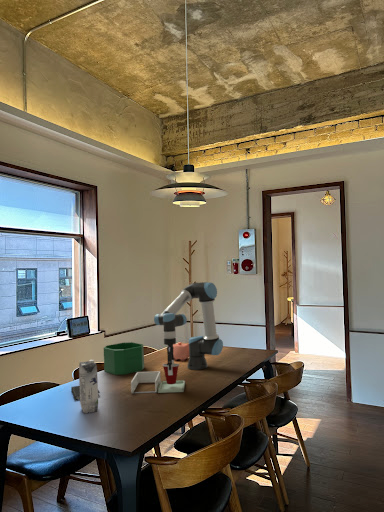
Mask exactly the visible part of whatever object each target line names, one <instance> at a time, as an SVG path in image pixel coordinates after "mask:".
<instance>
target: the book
mask: <svg viewBox="0 0 384 512" xmlns="http://www.w3.org/2000/svg"><path fill="white" fill-rule="evenodd" d="M71 393H73V394H72V396H73V399H74V401H77V400H76V399H78V400H80V385H75V386H71ZM98 394H101V392H100V390H99V389H98Z"/></svg>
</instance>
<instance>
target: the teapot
mask: <svg viewBox="0 0 384 512" xmlns="http://www.w3.org/2000/svg"><path fill="white" fill-rule="evenodd" d="M173 347H174V349H173V355H174V358H175V360H174V362H177V361H178V360H180V361H181V362H185V360H187V359H189V343H182V342H181V341H179V342H177V343H176V344H173Z"/></svg>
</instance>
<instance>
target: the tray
mask: <svg viewBox="0 0 384 512" xmlns="http://www.w3.org/2000/svg"><path fill="white" fill-rule="evenodd" d="M185 386H186V381H185V380H176V383H175V384H167V382H166V380H165V381H164V380H163V381H161V382H160V385H159V388H158V390H157V393H158V394H159V393H160V394H162V393H163V394H165V393H184V392H185V391H184V390H185Z"/></svg>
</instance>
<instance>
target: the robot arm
mask: <svg viewBox="0 0 384 512" xmlns="http://www.w3.org/2000/svg"><path fill="white" fill-rule="evenodd" d="M217 294H218V289H217V287H216V285H215V284H214V283H213V282H208V281H206V282H192V283H190V284H188V285H186V286H185V287H184V288H182V290H180V292H179V295H178V296H177V297H176V298H175V299H174V300H173V301H172V302H171V303H170V304H169V305H168V306H167V307H166V308H165V309H164V310H163V311H162V312H161V313H157V314H155V315H154V318H153V321H154V322H153V323H154V324H155V325H156V326H163V332H162V334H163V344H164V345H167V346H166V350H167V351H166V353H167V355H166V356H167V362H166V364H167V365H168V375H173V370H172V363H174V362H175V361H174V360H175V358H174V355H173V349H174V347H173V345H174V344H177V339H176V336H177V335H176V334H177V332H176V328H177V327H181V326H184V325H186V324H187V321H188V320H187V319H188V318H187V316H186V315H185V314H184V313H179V314H178V312H180V310H181V309H182V308H183V307H184V306H185V305H186V304H187V303H188V302H191V300H194V299H198V303H200V305H201V313H202V320H203V321H202V322H203V329H204V335H198V336H191V337H189V339H188V344H189V357H188V361H187V369H188V370H195V371H196V370H197V371H198V370H204V369H207V368H208V363H207V359H206V356H205V355H207V356H208V355H209V356H219V355H220V354H221V353H222V351H223V349H224V342H223V340H222V339H220V337H219V334H217V328H216V327H217V326H216V318H215V317H216V316H215V309H214V307H215V306H214V301H215V300H216V299H215V298H217V296H218V295H217Z"/></svg>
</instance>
